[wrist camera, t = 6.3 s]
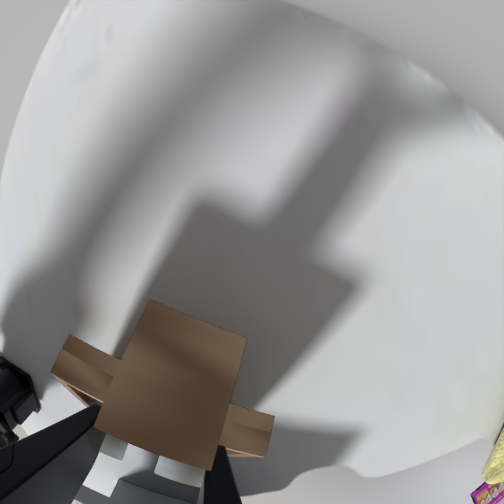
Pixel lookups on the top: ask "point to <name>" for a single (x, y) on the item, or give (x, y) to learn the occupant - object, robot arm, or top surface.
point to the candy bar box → (489, 494)
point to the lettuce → (495, 463)
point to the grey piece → (124, 496)
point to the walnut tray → (168, 393)
